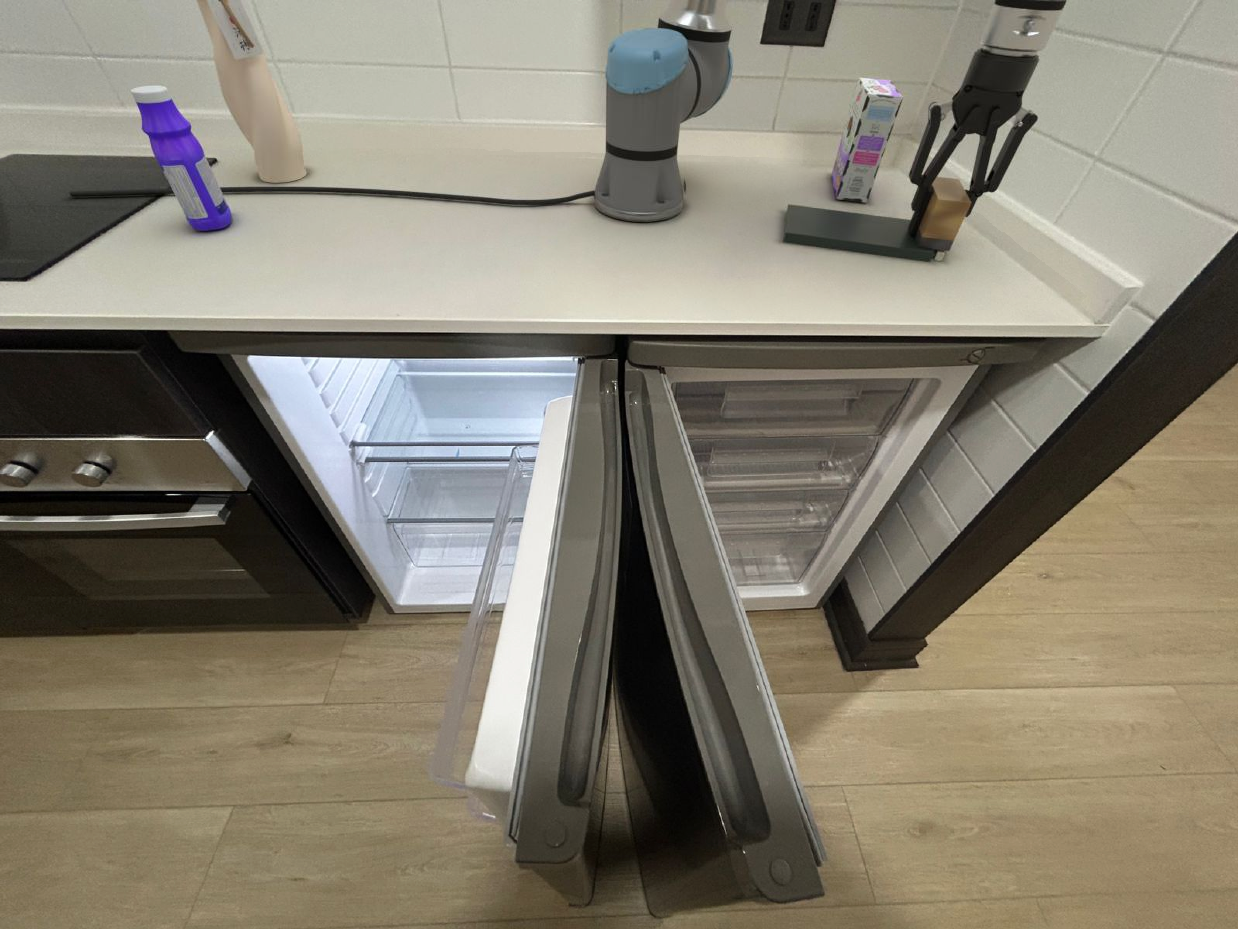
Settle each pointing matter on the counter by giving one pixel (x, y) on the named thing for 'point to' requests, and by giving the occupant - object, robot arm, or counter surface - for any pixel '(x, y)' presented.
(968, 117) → the robot arm
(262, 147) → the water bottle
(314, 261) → the counter surface
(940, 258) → the chalk
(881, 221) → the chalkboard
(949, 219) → the eraser
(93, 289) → the counter surface
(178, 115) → the bottle
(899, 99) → the candy box
